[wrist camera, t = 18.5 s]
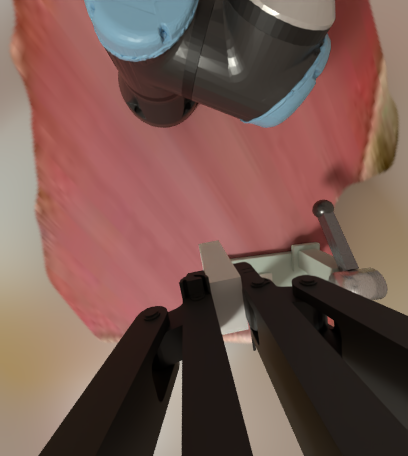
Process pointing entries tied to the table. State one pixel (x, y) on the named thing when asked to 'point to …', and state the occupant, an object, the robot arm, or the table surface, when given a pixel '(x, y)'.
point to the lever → (347, 258)
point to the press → (292, 264)
